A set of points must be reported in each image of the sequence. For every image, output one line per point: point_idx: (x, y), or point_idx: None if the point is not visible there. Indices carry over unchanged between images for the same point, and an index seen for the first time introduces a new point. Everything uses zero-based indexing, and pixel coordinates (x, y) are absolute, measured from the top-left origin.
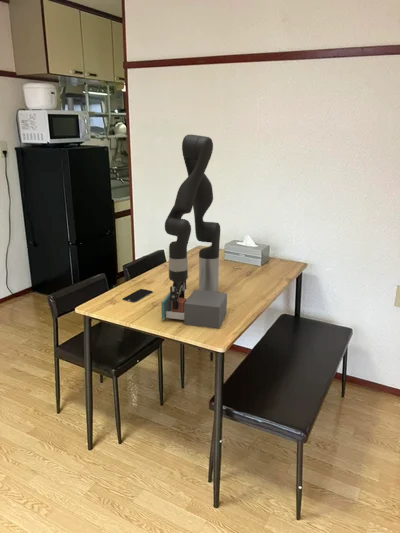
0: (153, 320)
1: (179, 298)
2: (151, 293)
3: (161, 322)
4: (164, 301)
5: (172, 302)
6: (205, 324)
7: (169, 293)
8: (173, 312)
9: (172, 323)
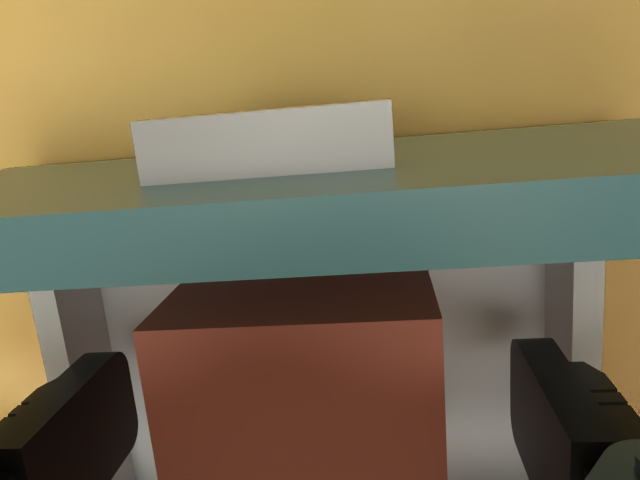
0: (27, 19)
1: (386, 448)
2: None
3: (24, 162)
4: None
5: (9, 421)
6: None
7: (378, 213)
8: (53, 368)
9: None
